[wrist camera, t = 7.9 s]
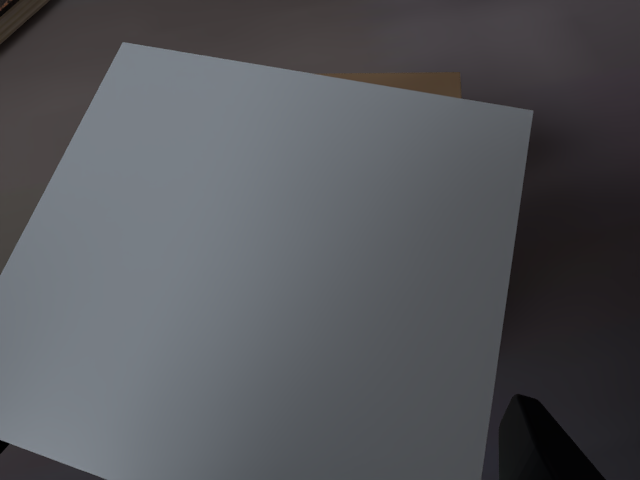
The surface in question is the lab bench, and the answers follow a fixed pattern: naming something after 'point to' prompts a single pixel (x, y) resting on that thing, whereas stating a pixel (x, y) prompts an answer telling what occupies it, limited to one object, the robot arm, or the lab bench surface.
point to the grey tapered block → (264, 278)
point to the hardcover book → (16, 14)
